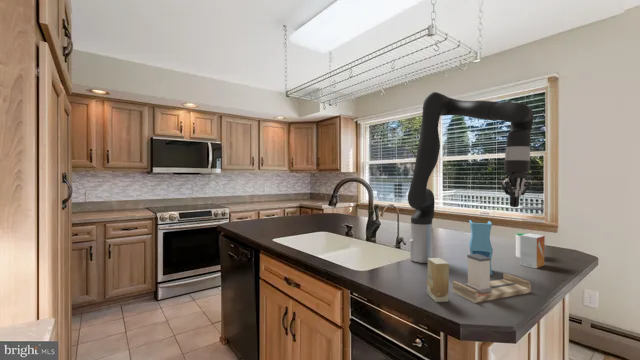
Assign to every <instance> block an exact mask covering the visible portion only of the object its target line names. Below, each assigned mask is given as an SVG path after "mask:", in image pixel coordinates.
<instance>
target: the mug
mask: <svg viewBox="0 0 640 360" xmlns="http://www.w3.org/2000/svg"><path fill="white" fill-rule="evenodd" d="M524 234H525V233H515V257H517V258H520V236H521V235H524Z"/></svg>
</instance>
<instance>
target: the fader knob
mask: <svg viewBox="0 0 640 360" xmlns="http://www.w3.org/2000/svg"><path fill="white" fill-rule="evenodd" d="M466 256H467V283H465V284H464V285H465V286H467V287H470V288H472V289H474V290H476V291H478V293H486V292H492V288H490V281H491V275H490V258H489V257H486V256H483V255H479V254H467V255H466Z"/></svg>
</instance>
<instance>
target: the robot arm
mask: <svg viewBox="0 0 640 360" xmlns="http://www.w3.org/2000/svg"><path fill="white" fill-rule="evenodd" d="M423 100H424V101H423V104H422V105H423V106H422V113H421V114H422V115H421V116H422V118H421V128H420V132H419V133H420V134H419V139H418V140H419V141H418V144H417V145H418V146H417V150H416V156H415V157H416V158H415V162H414V163H415V164H414V168H413V174H412V175H413V176H412V179H411V183H410V186H409V190H408V194H407V203H408V205H409V206H410V207H411V209H415V212H414V213H413V214H412V215H411V217H410V261H411V262H415V263H420V264H428V258H433V220H434V216H435V194H434V193H433V191H432V190H431V189H429V188H427V187H428V181H429V179H430V176H431V174H432V172H433V171H434V169H435V168H436V166H437V163H438V161H439V156H440V151H441V141H440V140H441V139H440V133H439V122H440V117H441V116H443V117H444V116H460V117H461V116H462V117H467V118H472V119H478V120H486V121H493V122H495V121H503V122H509V123H510V128H509V132H508V134H507V136H506V137H507V138H506V148H505V149H506V150H505V153H504V168H503V169H504V170H503V171H504V173H506V175H505V179H504V180H501V181H500V185H501V187H502V189H503V191H504V193H505V195H508V196H509V206H510V207H511V208H518V207H519V205H520V197H521V196H524V195H525V194H526V193H527V191H528V189H529V188H530V186H531V184H532V183H531V182H530V181H527V174H528V173H530V163H531V132H532V127H533V122H534V112H533V109H532V108H531V107H530V105H527V104H526V103H522V102H517V101H515V102H513V101H511V102H509V101H505V102H499V101H492V100H491V101H490V100H461V99H460V100H459V99H456V98H452V97H448V96H446V95H445V94H442V93H440V92H435V91H434V92H430V93H428V95H426V97H425V98H424V99H423Z"/></svg>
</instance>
